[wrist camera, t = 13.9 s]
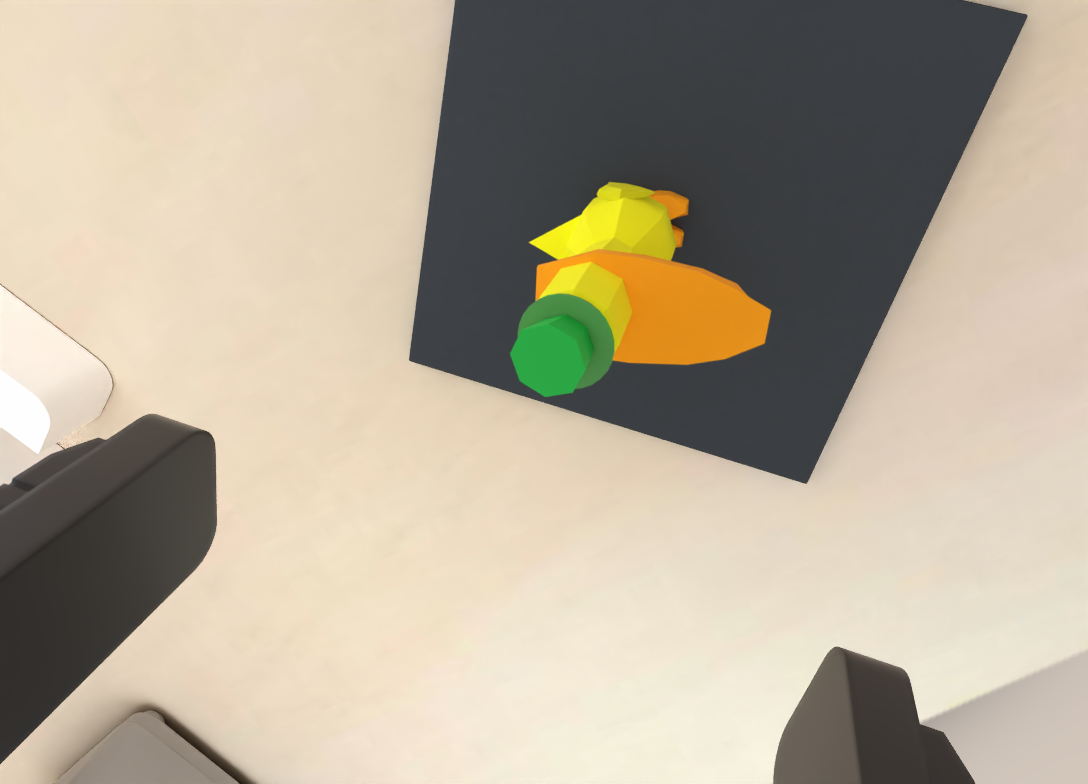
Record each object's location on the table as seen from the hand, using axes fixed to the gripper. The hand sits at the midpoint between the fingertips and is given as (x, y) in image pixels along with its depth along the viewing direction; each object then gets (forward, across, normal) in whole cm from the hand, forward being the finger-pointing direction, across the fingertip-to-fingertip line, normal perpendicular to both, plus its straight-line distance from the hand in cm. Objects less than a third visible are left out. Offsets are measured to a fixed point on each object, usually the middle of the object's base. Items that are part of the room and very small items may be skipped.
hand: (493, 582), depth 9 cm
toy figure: (+18, 0, 0) cm, 18 cm away
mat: (+18, 0, 0) cm, 19 cm away
